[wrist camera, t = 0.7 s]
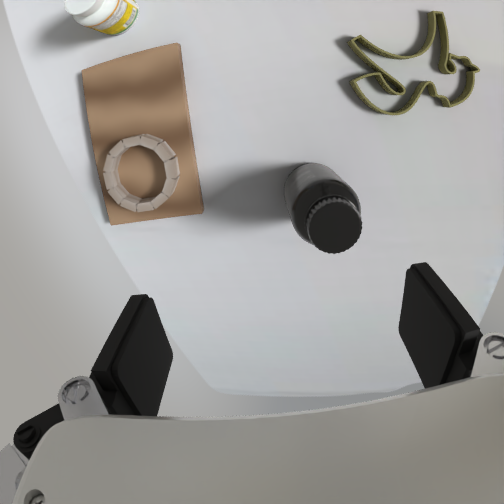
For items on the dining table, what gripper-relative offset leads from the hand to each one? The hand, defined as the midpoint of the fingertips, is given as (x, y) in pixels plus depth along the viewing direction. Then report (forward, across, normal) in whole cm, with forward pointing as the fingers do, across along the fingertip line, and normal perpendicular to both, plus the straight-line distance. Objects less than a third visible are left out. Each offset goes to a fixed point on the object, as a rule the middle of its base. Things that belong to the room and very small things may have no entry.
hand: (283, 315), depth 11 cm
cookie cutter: (+28, -19, -11) cm, 36 cm away
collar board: (+27, +14, -6) cm, 31 cm away
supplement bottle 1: (+28, +14, -22) cm, 38 cm away
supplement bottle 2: (+28, -5, +4) cm, 28 cm away
